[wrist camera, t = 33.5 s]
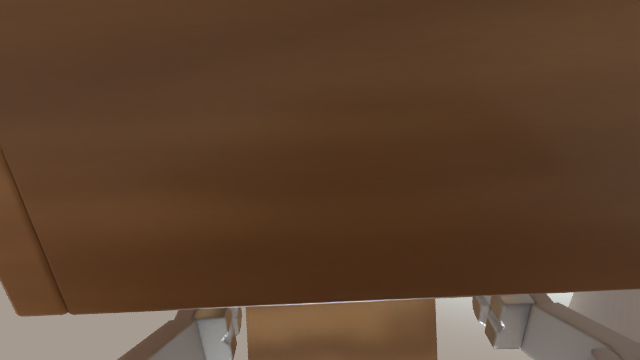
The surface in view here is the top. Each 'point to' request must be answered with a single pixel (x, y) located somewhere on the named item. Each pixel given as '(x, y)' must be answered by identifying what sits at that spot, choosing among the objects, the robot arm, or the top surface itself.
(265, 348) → the chest lid
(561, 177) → the chest
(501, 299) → the robot arm
